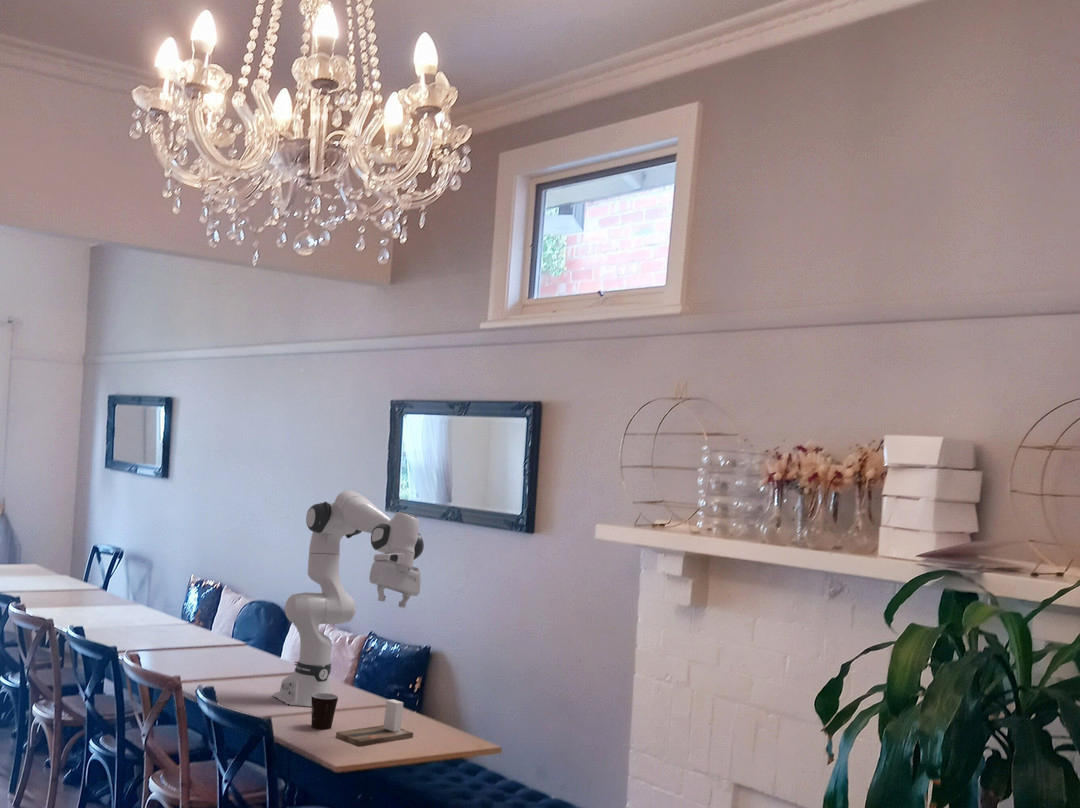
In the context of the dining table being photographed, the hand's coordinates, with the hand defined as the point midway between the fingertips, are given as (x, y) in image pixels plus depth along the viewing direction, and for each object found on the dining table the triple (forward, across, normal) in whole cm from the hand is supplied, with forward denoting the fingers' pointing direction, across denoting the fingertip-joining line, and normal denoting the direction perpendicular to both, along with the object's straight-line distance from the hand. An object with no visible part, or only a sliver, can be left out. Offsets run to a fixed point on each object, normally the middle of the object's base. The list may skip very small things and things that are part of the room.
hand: (391, 604), depth 320 cm
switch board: (+40, -16, -12) cm, 44 cm away
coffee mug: (+39, -8, -30) cm, 50 cm away
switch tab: (+36, -22, -12) cm, 44 cm away
